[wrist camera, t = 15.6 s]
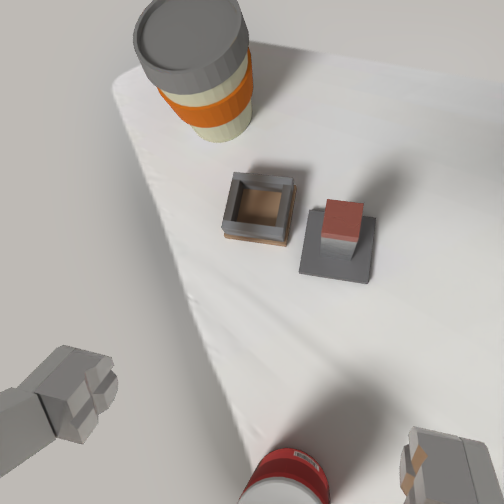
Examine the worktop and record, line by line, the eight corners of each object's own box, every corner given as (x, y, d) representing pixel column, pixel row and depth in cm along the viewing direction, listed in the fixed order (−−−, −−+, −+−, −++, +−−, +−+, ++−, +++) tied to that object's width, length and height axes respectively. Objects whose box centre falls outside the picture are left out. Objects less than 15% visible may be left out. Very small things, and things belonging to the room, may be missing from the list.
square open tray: (296, 188, 47) (295, 176, 44) (286, 246, 45) (283, 238, 42) (238, 182, 49) (232, 169, 46) (225, 238, 47) (218, 229, 44)
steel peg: (354, 233, 43) (363, 203, 35) (350, 261, 43) (358, 237, 34) (325, 228, 44) (327, 199, 36) (320, 256, 43) (321, 232, 35)
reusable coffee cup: (195, 167, 51) (147, 95, 37) (170, 100, 55) (118, 11, 40) (277, 131, 50) (262, 43, 36) (246, 66, 54) (221, -37, 40)
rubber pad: (374, 220, 44) (375, 217, 43) (366, 284, 42) (367, 282, 42) (309, 212, 46) (309, 209, 45) (299, 273, 44) (298, 271, 43)
